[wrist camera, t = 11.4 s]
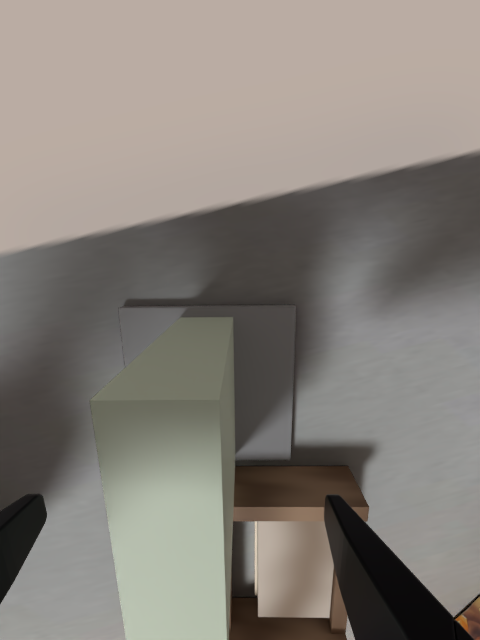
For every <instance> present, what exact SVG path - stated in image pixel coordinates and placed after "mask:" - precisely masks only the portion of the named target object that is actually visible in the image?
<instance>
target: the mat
mask: <svg viewBox="0 0 480 640" xmlns="http://www.w3.org/2000/svg"><path fill="white" fill-rule="evenodd" d="M118 313H119V321H120V330H121V338H122V347H123V356H124V364H125V368H126V367H127V366H128V365H129V364H130V363H131V362H132V361H133V360H134V359H135V358H136V357H138V356H139V355H140V354H141V353H142V352H143V351H144V350H145V349H146V348H147V347H148V346H150V345H151V344H152V343H153V342H154V341H155V340H156V339H157V338H158V337H159V336H160V335H162V334H163V333H164V332H165V331H166V330H167V329H168V328H169V327H170V326H171V325H172V324H174V323H175V322H176V321H177V320H178V319H179V318H180V317H233V337H234V396H235V460H290V459H291V432H292V406H293V380H294V353H295V327H296V306H295V305H220V306H122V307H120V308H118Z"/></svg>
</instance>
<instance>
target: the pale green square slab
mask: <svg viewBox="0 0 480 640" xmlns="http://www.w3.org/2000/svg"><path fill="white" fill-rule="evenodd" d="M90 407H91V414H92V420H93V427H94V433H95V440H96V446H97V453H98V459H99V466H100V472H101V479H102V486H103V492H104V499H105V505H106V512H107V518H108V525H109V531H110V538H111V545H112V551H113V558H114V564H115V571H116V577H117V584H118V590H119V597H120V603H121V610H122V617H123V623H124V630H125V636H126V640H229V618H230V591H231V563H232V536H233V509H234V481H235V396H234V337H233V317H180V318H179V319H178V320H177V321H176V322H175V323H174V324H172V325H171V326H170V327H169V328H168V329H167V330H166V331H165V332H164V333H163V334H162V335H160V336H159V337H158V338H157V339H156V340H155V341H154V342H153V343H152V344H151V345H150V346H148V347H147V348H146V349H145V350H144V351H143V352H142V353H141V354H140V355H139V356H138V357H136V358H135V359H134V360H133V361H132V362H131V363H130V364H129V365H128V366H127V367H126V368H124V369H123V370H122V371H121V372H120V373H119V374H118V375H117V376H116V377H115V378H114V379H112V380H111V381H110V382H109V383H108V384H107V385H106V386H105V387H104V388H103V389H102V390H100V391H99V392H98V393H97V394H96V395H95V396H94V397H93V398H92V399H91V400H90Z"/></svg>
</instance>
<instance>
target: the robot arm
mask: <svg viewBox="0 0 480 640" xmlns="http://www.w3.org/2000/svg"><path fill="white" fill-rule="evenodd" d="M46 518H47V512H46V508H45V503H44V499H43V496H42V495H41V494H28V495H25V496H24V497H22V498H20V499H19V500H17V501H16V502H14V503H13V504H11V505H9V506H8V507H6V508H5V509H3V510H2V511H0V604H1V602H2V600H3V599H4V597H5V596H6V594H7V592H8V591H9V589H10V587H11V585H12V584H13V582H14V580H15V578H16V577H17V575H18V573H19V571H20V569H21V567H22V565H23V564H24V562H25V560H26V558H27V556H28V554H29V552H30V550H31V548H32V547H33V545H34V543H35V541H36V539H37V537H38V535H39V533H40V531H41V530H42V528H43V526H44V524H45V521H46ZM324 522H325V527H326V532H327V536H328V541H329V545H330V550H331V554H332V559H333V563H334V568H335V572H336V576H337V581H338V585H339V589H340V592H341V595H342V599H343V602H344V605H345V608H346V612H347V615H348V618H349V621H350V624H351V628H352V631H353V634H354V637H355V640H474V638H473V637H472V636H471V635H470V634H469V633H468V632H467V631H466V630H465V629H464V628H463V627H462V626H461V624H460V623H459V622H458V621H457V620H454V619H453V616H452V615H451V614H450V613H449V612H448V611H447V610H446V609H445V607H444V606H443V605H442V604H441V603H440V602H439V601H438V600H437V599H436V598H435V597H434V596H433V595H432V593H431V592H430V591H429V590H428V589H427V588H426V587H425V586H424V585H423V584H422V583H421V582H420V581H419V580H418V578H417V577H416V576H415V575H414V574H413V573H412V572H411V571H410V570H409V569H408V568H407V567H406V566H405V564H404V563H403V562H402V561H401V560H400V559H399V558H398V557H397V556H396V555H395V554H394V553H393V552H392V551H391V549H390V548H389V547H388V546H387V545H386V544H385V543H384V542H383V541H382V540H381V539H380V538H379V537H378V535H377V534H376V533H375V532H374V531H373V530H372V529H371V528H370V527H369V526H368V525H367V524H366V523H365V521H364V520H363V519H362V518H361V517H360V516H359V515H358V514H357V513H356V512H355V511H354V510H353V509H352V508H351V506H350V505H349V504H348V503H347V502H346V501H345V500H344V499H343V498H342V497H341V496H340V495H338V494H327V495H326V497H325V507H324Z"/></svg>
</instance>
